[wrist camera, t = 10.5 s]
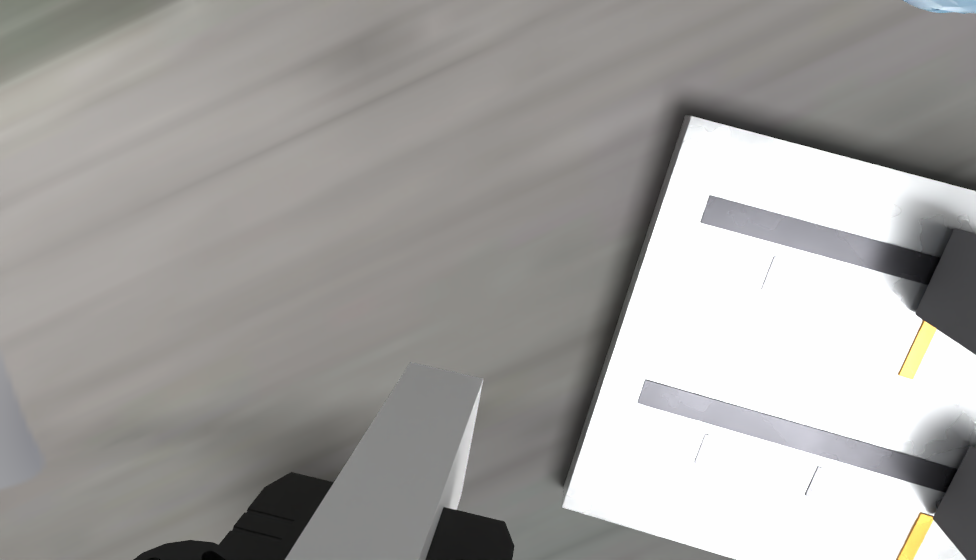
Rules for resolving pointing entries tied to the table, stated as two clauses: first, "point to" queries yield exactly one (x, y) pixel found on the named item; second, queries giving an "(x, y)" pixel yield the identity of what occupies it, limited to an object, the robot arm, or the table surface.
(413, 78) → the table surface
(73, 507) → the table surface
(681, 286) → the console
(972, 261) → the fader
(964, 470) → the fader tab
